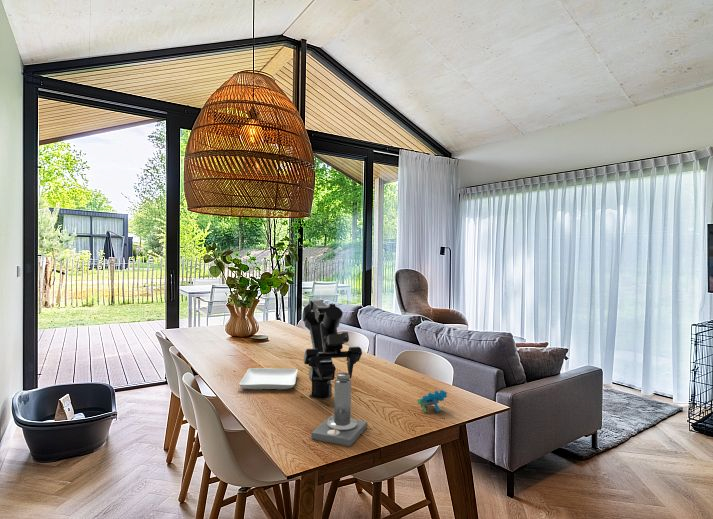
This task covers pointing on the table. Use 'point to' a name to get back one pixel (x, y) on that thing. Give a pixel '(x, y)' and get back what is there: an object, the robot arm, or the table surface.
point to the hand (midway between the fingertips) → (336, 378)
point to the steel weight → (342, 399)
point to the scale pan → (342, 428)
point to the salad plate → (269, 378)
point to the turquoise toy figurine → (432, 399)
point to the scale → (338, 433)
